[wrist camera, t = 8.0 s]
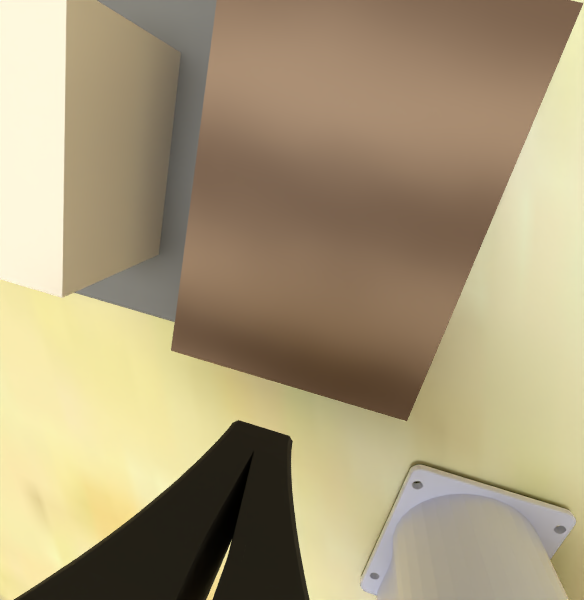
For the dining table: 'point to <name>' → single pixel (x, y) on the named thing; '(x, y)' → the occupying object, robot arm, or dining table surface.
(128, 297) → the mat
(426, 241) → the board
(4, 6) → the tile
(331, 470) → the dining table surface
